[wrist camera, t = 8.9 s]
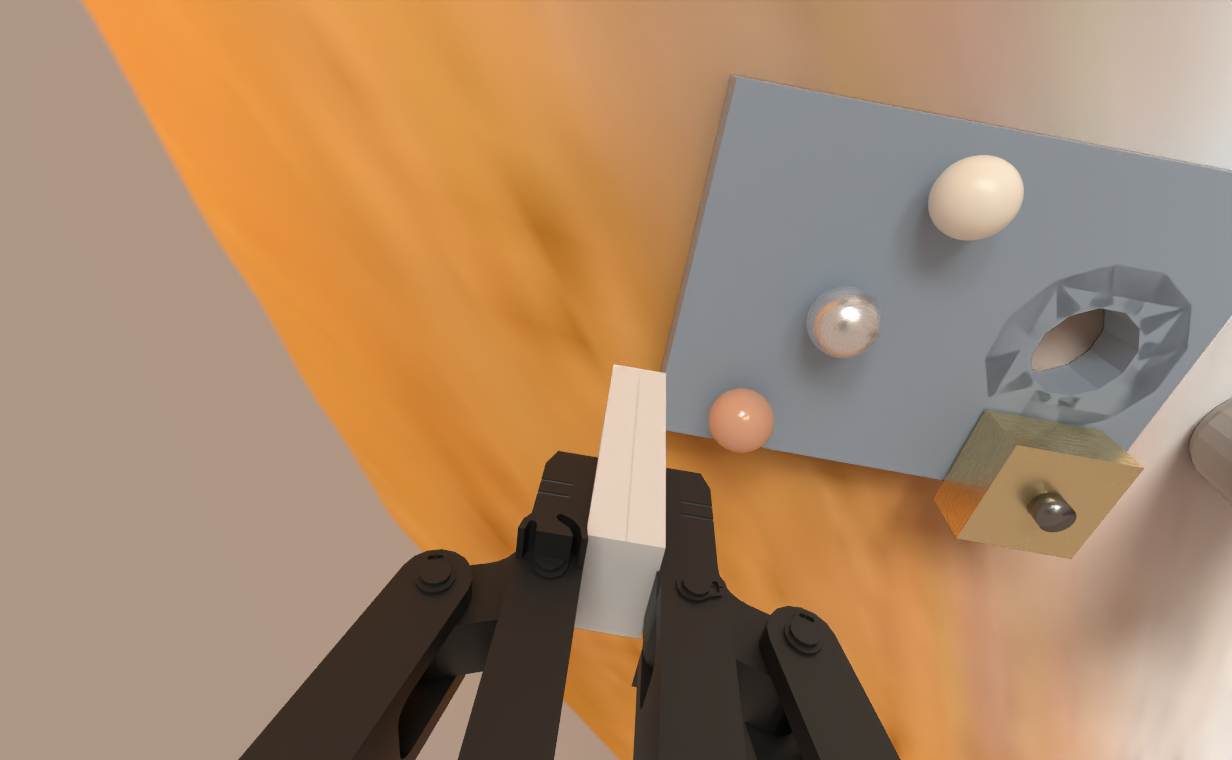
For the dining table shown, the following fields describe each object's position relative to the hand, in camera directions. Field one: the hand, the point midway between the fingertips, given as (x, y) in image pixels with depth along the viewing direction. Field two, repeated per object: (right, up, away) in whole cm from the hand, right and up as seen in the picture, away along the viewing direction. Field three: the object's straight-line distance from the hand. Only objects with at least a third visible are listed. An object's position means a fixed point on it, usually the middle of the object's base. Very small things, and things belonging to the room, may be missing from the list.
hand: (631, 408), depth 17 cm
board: (+15, +5, +12) cm, 20 cm away
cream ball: (+14, +8, +6) cm, 17 cm away
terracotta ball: (+6, -1, +12) cm, 13 cm away
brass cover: (+20, -4, +14) cm, 25 cm away
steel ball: (+10, +3, +9) cm, 14 cm away
